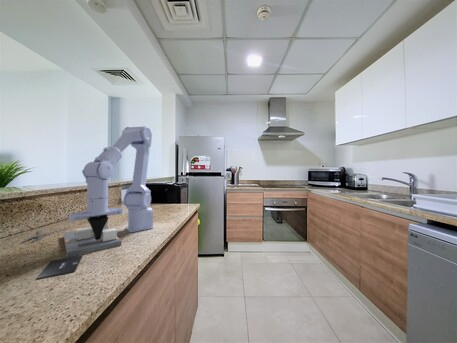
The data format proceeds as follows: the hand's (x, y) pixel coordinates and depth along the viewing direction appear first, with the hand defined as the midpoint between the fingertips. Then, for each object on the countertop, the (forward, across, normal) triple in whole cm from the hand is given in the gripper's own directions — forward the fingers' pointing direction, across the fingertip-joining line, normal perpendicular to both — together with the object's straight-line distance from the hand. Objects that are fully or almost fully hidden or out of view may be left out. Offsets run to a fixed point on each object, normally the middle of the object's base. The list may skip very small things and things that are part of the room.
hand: (97, 239), depth 64 cm
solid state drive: (+3, +10, +9) cm, 14 cm away
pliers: (+3, +9, -30) cm, 31 cm away
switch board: (+2, 0, -7) cm, 8 cm away
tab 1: (+1, +2, -8) cm, 8 cm away
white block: (+1, -3, 0) cm, 3 cm away
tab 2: (+1, -5, -14) cm, 15 cm away
